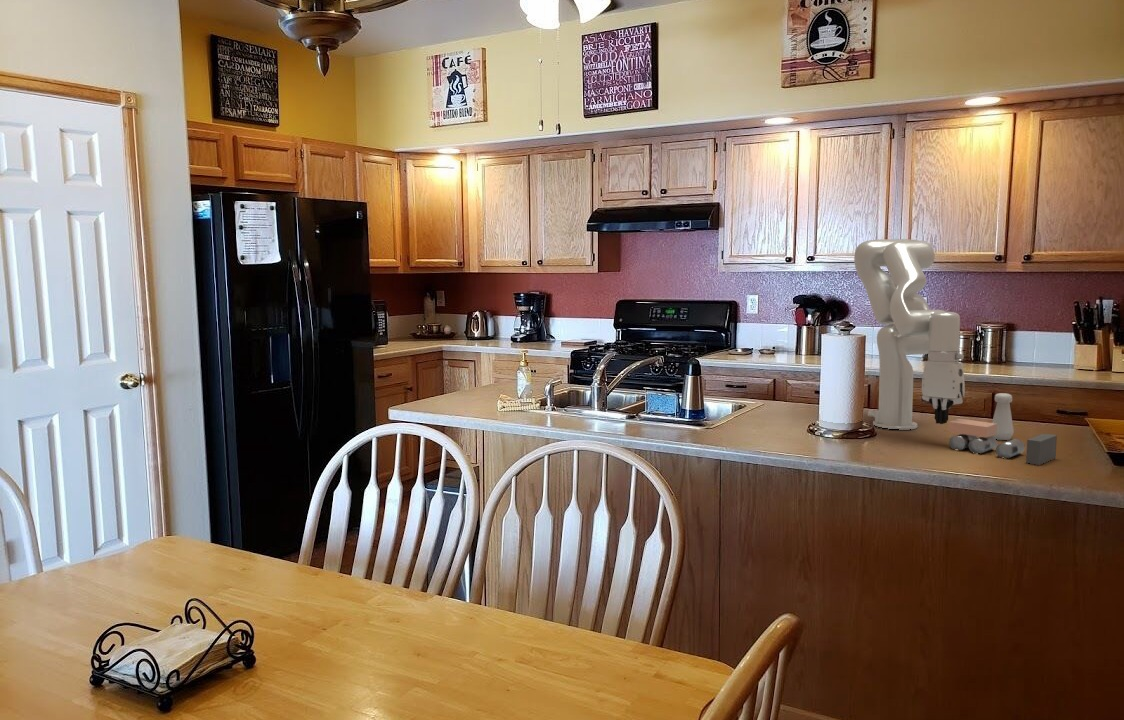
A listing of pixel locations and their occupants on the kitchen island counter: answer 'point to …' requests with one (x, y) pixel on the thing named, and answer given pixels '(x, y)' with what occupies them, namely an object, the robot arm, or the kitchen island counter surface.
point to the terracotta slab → (972, 427)
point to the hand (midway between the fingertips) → (941, 422)
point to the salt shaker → (1003, 417)
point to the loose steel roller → (1010, 448)
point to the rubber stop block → (1041, 449)
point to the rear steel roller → (961, 441)
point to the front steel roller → (982, 444)
